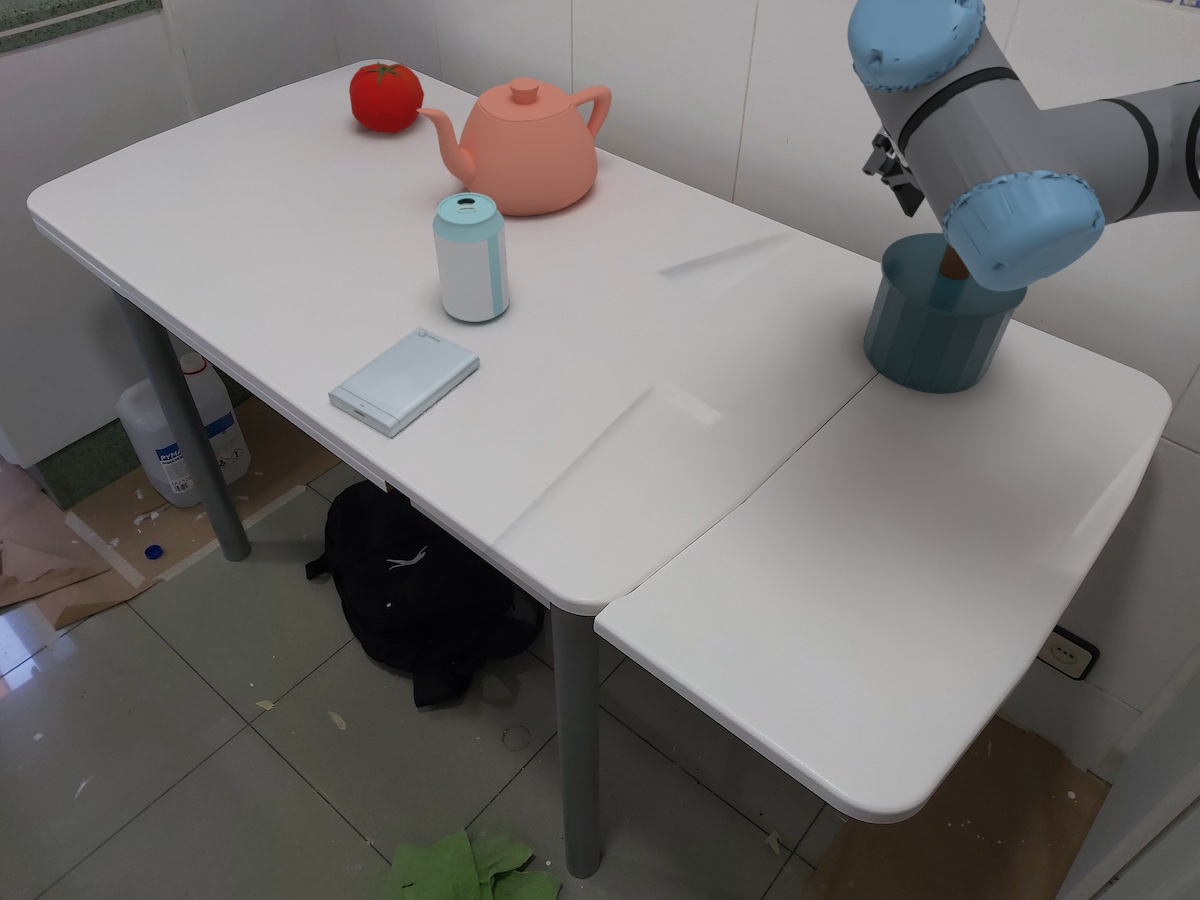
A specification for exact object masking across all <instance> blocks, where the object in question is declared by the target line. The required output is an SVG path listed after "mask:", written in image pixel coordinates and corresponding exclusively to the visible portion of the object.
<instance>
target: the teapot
mask: <svg viewBox="0 0 1200 900" xmlns="http://www.w3.org/2000/svg"><path fill="white" fill-rule="evenodd" d="M612 95H613V94H612V91H611V89H610V88H609V87H608V86H605V85H597V84H596V85H592V86H589V87H586V88H583V89H581V90H579V91H577V92H575V93H573V94H570V95H568V94H567V92H565V91H564V90H563V89H561V88H560V87H559V86H556V85H555V84H553V83H549V82H547V81H546V82H545V81H539V80H538V79H536V78H533V77H528V76H520V77H516V78H513V79H511V80H510V81H509V82H508V83H507V82H506V83H504V84H500V85H496V86H494V87H491V88H488V89H487V90H485V91H484V92H483V93H481V94H480V95H479V96H478V98H477V100H476V101H475V103H474V104H473V106H472V108H471V110H470V112H469V115H468V117H467V119H466V121H465V123H464V126H463V128H462V131H461V133H460V134H461V135H460V137H459V138H460V139H459V141H457V136H456V133H455V130H454V126H453V123H452V120H451V119H450V117H449V116H448V115H447V113H445V112H444V111H443V110H440V109H437V108H429V107H421V108H420V109H417V111H418V112H419V114H420V115H423V116H425V117H426V118H428V119H429V120H430V122H432V124H433V125H434V128H435V129H436V134H437V140H438V147H439V154H440V156H441V159H442V162H443V164H444V166H445V167H446V169H447V170H448V172H449V173H450V174H451V175H452V176H453V177H454V178H456V179H457V180H459V181H461V182H462V184H463V185H464V186H465V188H466V189H467V191H469V193H479V194H483V195H485V196H488V197H489V198H491V199H492V200H493V201H494V202H495V204H496V209H497V210H498V211H499V212H500V213H501V215H505V216H506V215H507V216H515V217H526V216H527V217H528V216H540V215H545V214H550V213H554V212H557V211H560V210H563V209H565V208H567V207H570V206H572V205H573V204H575V203H576V202H578V201H579V200H580V199H582V198H583V196H585V195H586V193H588V191H589V190H590V189H591V188H592V186H593V185H594V183H595V181H596V179H597V177H598V171H599V170H598V169H599V168H598V167H599V166H598V157H597V151H596V147H595V142H594V141H595V139H596V137H597V135H598V134H599V132H600V131H601V128H602V126H603V125H604V123H605V120H607V119H606V118H607V116H608V114H609V112H610V109H611V106H612V100H613V99H612ZM592 101H593V105H592V110H591V114H590V117H589V119H588V122H587V123H586V121H585V119H584V118H583V116H582V114H581V113H580V110H579V109H578V107H579V106H581V105H584V104H586V103H588V102H592ZM458 142H459V143H458Z"/></svg>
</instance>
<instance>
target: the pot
mask: <svg viewBox="0 0 1200 900" xmlns="http://www.w3.org/2000/svg"><path fill="white" fill-rule="evenodd" d="M1015 310H1016V309H1014V310H1013V311H1011V312H1009V313H1007V314H1004V315H1001V316H998V317H993V318H987V319H961V318H954V317H949V316H944V315H940V314H936V313H933V312H930V311H928V310H925V309H922V308H920V307H918V306H916V305H914V304H912V303H910V302H908V301H907V300H905V299H904V298H902V297H901V296H900V295H898V294H897V293H896V292H895V291H894V290H893V289H892V288H891V287H890V286H889V285H888V283H887V282H886V281H885V279H884V277H883V275H882V277H881V279H880V283H879V286H878V290H877V293H876V296H875V300H874V303H873V306H872V310H871V313H870V317H869V320H868V323H867V327H866V329H865V332H864V337H863V339H862V341H863V344H862V346H863V351H864V354H865V356H866V358H867V360H868V361H869V363H870V364H871V365H872V366H873V367H874V368H875V370H877V372H879V373H880V374H881V375H883V376H884V377H886V378H887V379H889V380H890V381H892V382H893V383H896V384H899V385H900V386H903V387H906V388H908V389H912V390H915V391H920V392H924V393H931V394H951V393H952V394H953V393H958V392H961V391H965V390H968V389H970V388H972V387H973V386H976V385H977V384H978V383H980V382H981V381H982V379H983V378H984V377H985V375H986V374H987V372H988V371H989V369H990V367H991V364H992V362H993V359H994V357H995V355H996V353H997V351H998V349H999V346H1000V343H1001V341H1002V339H1003V337H1004V334H1005V333H1006V330H1007V328H1008V326H1009V324H1010V321H1011V320H1012V317H1013V315H1014V312H1015Z"/></svg>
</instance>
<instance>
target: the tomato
mask: <svg viewBox="0 0 1200 900" xmlns="http://www.w3.org/2000/svg"><path fill="white" fill-rule="evenodd" d="M376 61H377V62H376V63H372V64H368V65H364V66H361V67H359V68H358V70H357V71H356V72H355V73H354V74H353V77H352V78H351V80H350V82H349V89H348V92H349V100H350V107H351V114H352V115H353V117H354V118H355V120H357V121H358V122H359V123H360V124H361V125H362V126H364V127H365V128H366V129H369V130H371V131H374V132H377V133H382V134H383V133H385V134H397V133H399V132H401V131H403V130H405V129H407V128H409V127H411V126H412V124H413V123H414V122H415V121H416V120H417V118H418V117H419V114H420V113H419V112H418V111H417V109H420V108H423V107H422V106H423V104H424V98H425V92H424V88H423V86H422V84H421V81H420V79H419V77H418V76H417V75H416V74H415V73H414V72H413V70H412V69H411V68H410V67H408V66H407V65H406V66H405V65H404V64H403V62H401V63H394V64H393V63H392V64H389V65H388V64H386V63H380V62H379V60H376Z"/></svg>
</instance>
